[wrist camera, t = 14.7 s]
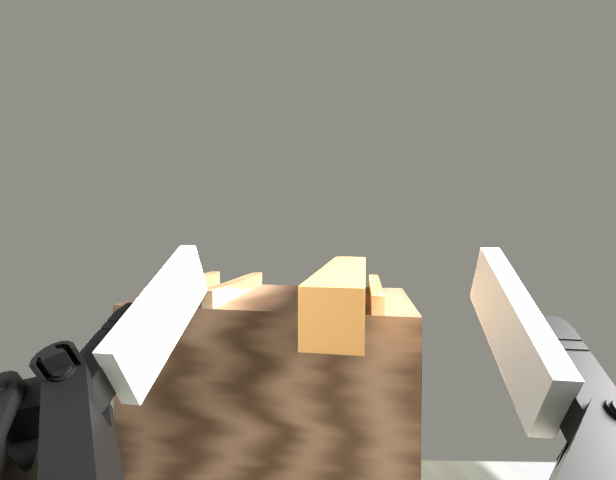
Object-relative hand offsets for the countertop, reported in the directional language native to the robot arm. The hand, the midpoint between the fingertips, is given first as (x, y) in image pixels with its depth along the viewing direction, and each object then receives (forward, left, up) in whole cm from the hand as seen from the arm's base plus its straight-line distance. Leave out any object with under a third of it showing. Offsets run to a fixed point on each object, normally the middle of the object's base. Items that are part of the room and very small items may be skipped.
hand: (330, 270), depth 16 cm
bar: (0, +14, -5) cm, 14 cm away
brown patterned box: (-7, +18, -35) cm, 39 cm away
